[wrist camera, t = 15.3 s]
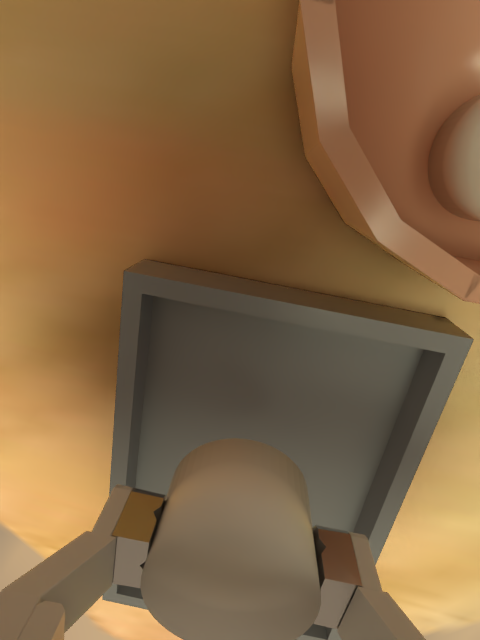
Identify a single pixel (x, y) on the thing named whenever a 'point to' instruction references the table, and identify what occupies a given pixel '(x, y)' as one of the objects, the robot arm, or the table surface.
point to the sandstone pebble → (458, 162)
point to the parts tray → (279, 390)
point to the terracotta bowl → (390, 122)
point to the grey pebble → (234, 547)
